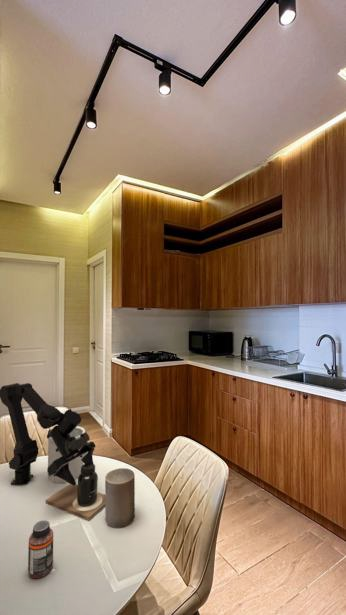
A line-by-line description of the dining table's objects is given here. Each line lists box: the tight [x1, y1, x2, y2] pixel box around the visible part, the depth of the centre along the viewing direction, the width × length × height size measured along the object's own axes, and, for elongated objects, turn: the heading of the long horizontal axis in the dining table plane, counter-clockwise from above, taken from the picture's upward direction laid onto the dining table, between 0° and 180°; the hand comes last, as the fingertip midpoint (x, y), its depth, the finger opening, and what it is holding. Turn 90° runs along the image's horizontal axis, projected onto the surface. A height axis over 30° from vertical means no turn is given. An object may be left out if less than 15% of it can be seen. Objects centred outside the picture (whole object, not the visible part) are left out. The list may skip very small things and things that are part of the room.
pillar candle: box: [104, 467, 136, 529], centre depth 96 cm, size 10×10×15 cm
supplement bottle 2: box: [76, 463, 99, 507], centre depth 102 cm, size 7×7×12 cm
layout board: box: [45, 483, 105, 522], centre depth 104 cm, size 20×12×1 cm, turn 64°
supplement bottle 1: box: [27, 519, 54, 579], centre depth 76 cm, size 6×6×11 cm
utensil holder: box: [47, 425, 86, 484], centre depth 122 cm, size 15×15×18 cm
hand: (84, 478), depth 103 cm, fingers open, 9 cm apart
